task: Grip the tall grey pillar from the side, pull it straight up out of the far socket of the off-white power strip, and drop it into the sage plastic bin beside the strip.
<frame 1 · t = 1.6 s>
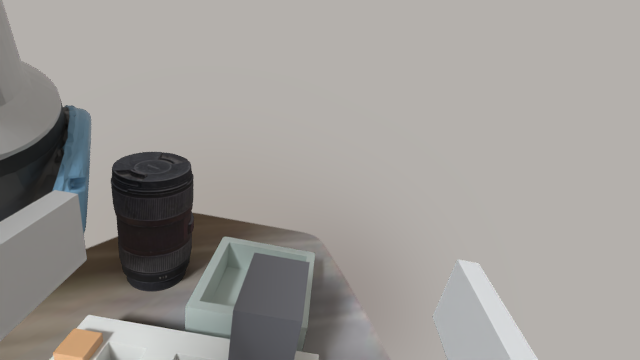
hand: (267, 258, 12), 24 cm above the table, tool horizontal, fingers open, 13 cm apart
bin: (255, 307, 40), on the table
camera lens: (156, 273, 43), on the table
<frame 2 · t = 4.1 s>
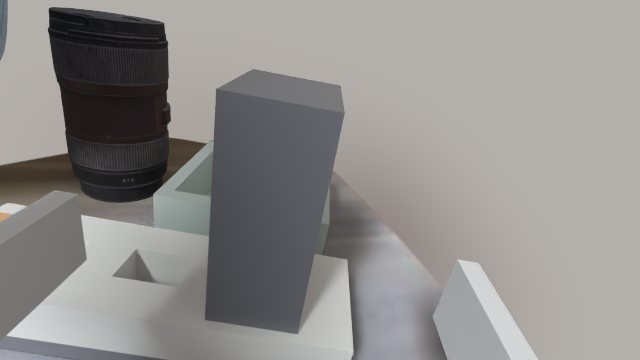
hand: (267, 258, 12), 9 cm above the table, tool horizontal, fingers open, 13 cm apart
strip: (157, 312, 20), on the table
bin: (253, 224, 30), on the table
camera lens: (123, 187, 32), on the table
tall grey pillar: (258, 316, 20), point 1 cm above the table, touching strip
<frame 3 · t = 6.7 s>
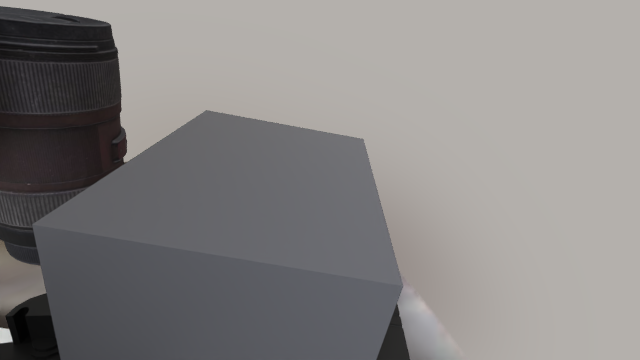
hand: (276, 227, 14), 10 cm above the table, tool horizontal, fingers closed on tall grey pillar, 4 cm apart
camera lens: (67, 238, 25), on the table
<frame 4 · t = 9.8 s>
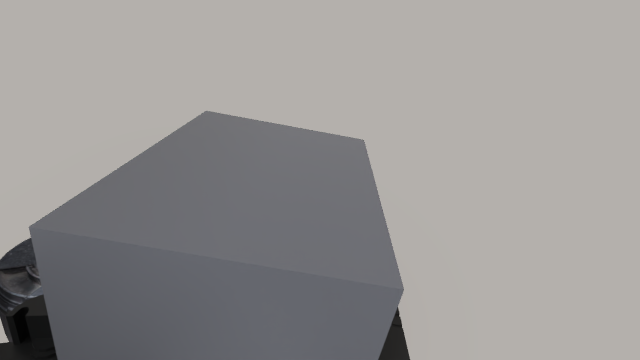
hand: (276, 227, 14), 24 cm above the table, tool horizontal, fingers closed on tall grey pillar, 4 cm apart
when the fingers open (11 cm above the table, at t = 12.8 s): tall grey pillar drops 2 cm, resting on bin.
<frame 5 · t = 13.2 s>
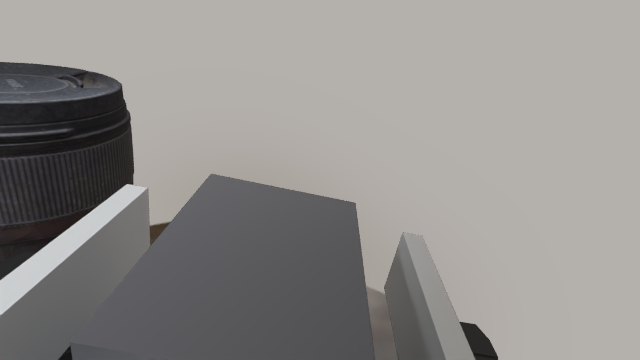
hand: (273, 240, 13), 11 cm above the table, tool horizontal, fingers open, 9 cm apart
camera lens: (64, 339, 20), on the table
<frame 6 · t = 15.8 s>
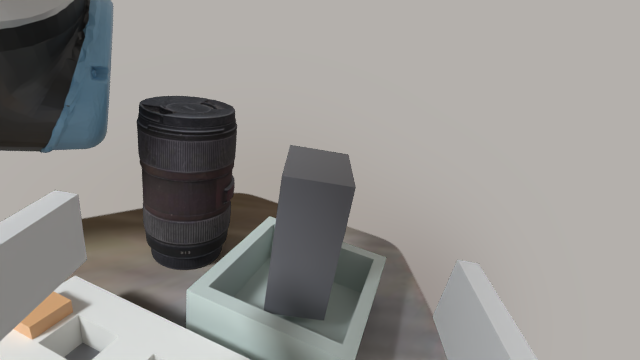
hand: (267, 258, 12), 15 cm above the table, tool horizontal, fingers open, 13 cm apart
bin: (292, 317, 29), on the table
camera lens: (187, 250, 35), on the table
tall grey pillar: (292, 311, 28), point 1 cm above the table, touching bin
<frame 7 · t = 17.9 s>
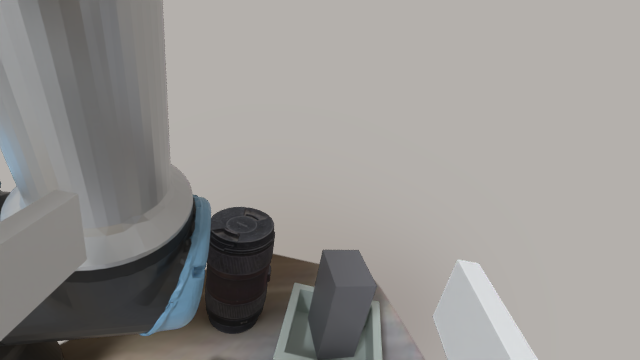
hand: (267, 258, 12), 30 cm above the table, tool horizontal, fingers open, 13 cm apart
bin: (325, 354, 43), on the table
camera lens: (233, 314, 46), on the table
tall grey pillar: (325, 350, 43), point 1 cm above the table, touching bin
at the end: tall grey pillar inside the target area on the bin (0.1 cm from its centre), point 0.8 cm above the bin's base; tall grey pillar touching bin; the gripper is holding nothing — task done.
